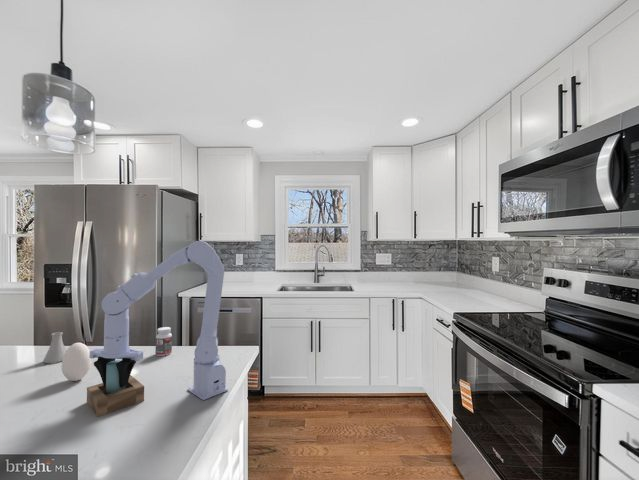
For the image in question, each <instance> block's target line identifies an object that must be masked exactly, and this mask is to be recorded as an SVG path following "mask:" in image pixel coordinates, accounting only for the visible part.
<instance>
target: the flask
mask: <svg viewBox="0 0 639 480" xmlns="http://www.w3.org/2000/svg"><path fill="white" fill-rule="evenodd" d="M63 334H64V332H62V331H56V332H53V333H51V334H50V336H51V342H50V346H49V347H48V350H47V352H46V354H45V356H44V358H43V361H42V363H44V364H56V363H60V362H61V363H62V359H63V357H64V354H65V352H66V351H67V350H66V347H65V344H64V342H63Z"/></svg>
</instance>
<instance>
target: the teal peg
mask: <svg viewBox="0 0 639 480" xmlns="http://www.w3.org/2000/svg"><path fill="white" fill-rule="evenodd" d="M120 361H122V359H115V361H111V362H109V363H107V364H106V395H107V394H110V393H114V392H117V391H120V390H123V389H125V386H124V387H120V386H119V373H118V369H117V366H116V363H118V362H120Z"/></svg>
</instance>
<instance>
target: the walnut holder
mask: <svg viewBox="0 0 639 480" xmlns="http://www.w3.org/2000/svg"><path fill="white" fill-rule="evenodd" d="M144 401H145V385H144V384H142V383H141V382H140V381H138V380H137V379H136V378H135V377H133V375H131V374H130V377H129V380H128V384H127V385H126V386H125V389H123V390H120V391H117V392H114V393H110V394H107V395H106V386H104V385H103V382H102V383H97V384H95V385H92V386H91V385H90V386H88V387H86V404H88V407H90V409H91V411H93V413H94V414H95V415H96V417H97V418H99V417H101V416H104V415H106V414H110V413H112V412H116V411H119V410H121V409H124V408H127V407H130V406H133V405H136V404H138V403H142V402H144Z"/></svg>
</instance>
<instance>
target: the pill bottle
mask: <svg viewBox="0 0 639 480" xmlns="http://www.w3.org/2000/svg"><path fill="white" fill-rule="evenodd" d="M171 329H172V328H171V327H170V326H164V327H159V328H157V334H156V335H155V356H156V357H166V356H168V355H169V356H170V355H171V354H172V352H173V351H172V350H173V335H172V334H173V333H171V331H172V330H171ZM165 355H166V356H165Z"/></svg>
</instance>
